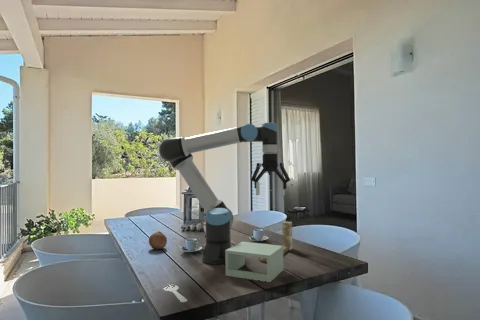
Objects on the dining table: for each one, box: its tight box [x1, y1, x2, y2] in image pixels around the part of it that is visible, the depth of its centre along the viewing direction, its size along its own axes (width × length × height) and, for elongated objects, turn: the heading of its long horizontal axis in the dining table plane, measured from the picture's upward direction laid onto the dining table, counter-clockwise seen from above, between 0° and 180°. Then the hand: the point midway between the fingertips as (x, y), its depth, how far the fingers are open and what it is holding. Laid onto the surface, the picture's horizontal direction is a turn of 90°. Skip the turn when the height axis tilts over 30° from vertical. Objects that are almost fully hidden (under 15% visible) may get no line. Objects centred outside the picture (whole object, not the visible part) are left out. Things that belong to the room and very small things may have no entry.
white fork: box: [162, 283, 188, 303], centre depth 120 cm, size 5×18×1 cm, turn 30°
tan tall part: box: [259, 221, 293, 263], centre depth 168 cm, size 7×27×14 cm, turn 154°
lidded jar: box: [202, 221, 206, 234], centre depth 213 cm, size 11×11×9 cm
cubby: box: [225, 241, 284, 283], centre depth 141 cm, size 19×16×10 cm
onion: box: [148, 231, 168, 251], centre depth 180 cm, size 10×9×10 cm
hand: (270, 195), depth 172 cm, fingers open, 13 cm apart
